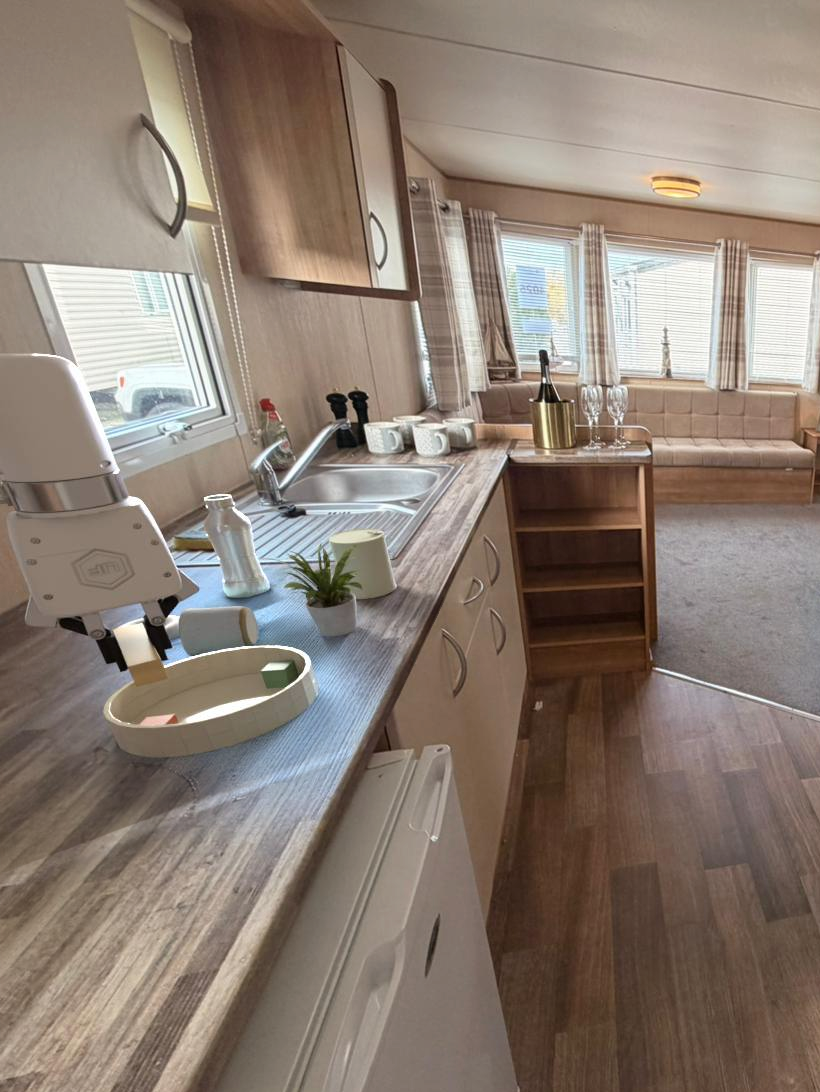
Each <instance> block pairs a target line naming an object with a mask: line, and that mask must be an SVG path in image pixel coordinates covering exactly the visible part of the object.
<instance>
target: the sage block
mask: <svg viewBox="0 0 820 1092" xmlns="http://www.w3.org/2000/svg"><path fill="white" fill-rule="evenodd" d="M261 673H262V676H263V679H264V682H265V685H266V688H267V689H269V688H282V687H287V686H289V685H290V684H291V683H293V682H294V681H295V680H297V678H298V677H299V674H298V671H297V668H296V665H295V662H294V660H282V661H271V662H270V663H269V664H268V665H267V666H266V667H264V668H263V669H262V670H261Z"/></svg>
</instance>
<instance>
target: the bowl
mask: <svg viewBox="0 0 820 1092" xmlns="http://www.w3.org/2000/svg"><path fill="white" fill-rule="evenodd" d="M282 660H294V662H295V665H296V668H297V671H298V674H299V677H298V678H297V680H295V681H294V682H293V683H291V684H290V685H289V686H287V687H282V688H269V689H267V688H266V685H265V682H264V679H263V676H262V673H261V670H262V669H263V668H264V667H266V666H267V665H268V664H269V663H270V662H271V661H282ZM163 666H164V668H165V671H166V673H167V676H168V679H165V680H161V681H157V682H154V683H150V684H146V685H143V686H139V687H136V685H135V683H134V680H133V679H132V680H131V681H130V682H128V683H126V684H124V685H123V686H122V687H120V688H119V689H117V690H116V691H115V692H114V693H113V694H111V696H110V697H109V698H108V699H107V700H106V702H104V705H103V710H102V715H103V716H104V717H105V721H106V722H107V724H108V727H109V729H110V731H111V734H112V735H113V737H114V739H115V741H116V743H117V745H118V747H119V749H121V750H122V751H124V752H126V753H127V754H130V755H134V756H137V757H143V758H153V759H154V758H157V759H158V758H159V759H162V758H178V757H187V756H194V755H199V754H205V753H209V752H214V751H218V750H222V749H225V748H229V747H233V746H235V745H238V744H242V743H245V742H249V741H250V740H253V739H256V738H258V737H260V736H264V735H265V734H268V733H270V732H272V731H274V730H276V729H278V728H280V727H282V726H284V725H286V724H288V723H289V722H291V721H292V720H294V719H295V718H297V717H298V716H300V715H301V714H302V713H304V712H305V711H306V710H307V709H308V708H309V707H310V706H311V705H312V704H313V703H314V701H316V698H317V697H318V695H319V690H320V687H319V684H318V681H317V677H316V674H315V669H314V668H313V664H312V661H311V657H310V655H308V654H306V652H304V651H302V650H300V649H297V648H295V647H289V646H284V645H254V646H248V647H239V648H232V649H225V650H220V651H215V652H211V653H206V654H202V655H198V656H195V657H192V656H190V657H188V658H184V659H180V660H178V661H175V662H172V663H169V664H167V665H163ZM172 714H175V715H176V717H177V720H178V722H179V723H178V724H166V725H139V724H140V723H141V722H142V721H143V720H144V719H145V718H146V717H154V716H163V715H172Z"/></svg>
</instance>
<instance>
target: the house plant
mask: <svg viewBox="0 0 820 1092" xmlns="http://www.w3.org/2000/svg"><path fill="white" fill-rule="evenodd" d="M322 543H323V542H321V543H320V544H319V546H318V551H317V558H318V559H317V560H318V567H319V569H317V570H315V571H314V570H313V569H312V567H311V565H310V564H309V562H308V561H307V560H306V559H305V558H304V556H302V555H301V554H300V553H297V552H295V551H291V550H290V551H289V552H290V553H293V554H295V555H296V556H295V555H293V554H290V553H287V556H288V557H289V558H290V559H291V560H293V561H294V562H295V563H296V565H298V566H299V567H298V566H291V565H290V564H288V563H287V562H285V561H283V560H279V559H276V558H269V560H271V561H275V562H276V561H277V562H279V563H282V564H284V565H286V566H288V567H285V568H281V569H280V571H283V570H286V569H288V568H289V569H292V570H294V571H295V572H296V573H298V574H299V575H297V574H296V573H293V572H286V574H287V575H291V576H293V577H294V578H296V579H298V580H299V581H300V582H302V583H300V582H297V581H296V582H295V581H291V582H288V583H286V584H285V585H284V586H283V589H288V588H289V590H288V592H289V591H294V592H291V593H290V595H292V594H295V593H297V591H295V590H304V591H300V593H301V594H304V595H305V598H306V602H305V607H306V609H307V611H308V613H309V614H310V616H311V618H312V620H313V622H314V624H315V626H316V628H317V630H318V632H319V633H320V636H323V637H327V638H330V637H331V638H332V637H339V636H344V635H345V636H346V635H348V634H350V633H353V632H354V631H356V630H357V628H358V614H357V613H358V612H357V599H356V596H355V595H354V594H353V593H350V588H348V587H347V585H350V586H354V587H357V588H359V589H361V590H362V586H361V584H359V583H357V582H350V583H349V581H350V580H351V579H352V578H354V577H356V576H355V575H358V574H350V573H353V572H356V571H360V570H356V571H351V572H347V573H344V574H341V572H342V570H343V568H344V567H345V565H346V564H347V563H348V562H349V561H350V560H349V561H348V562H347V563H346V564H345V562H346V561H347V559H348V558H349V556H350V553H351V551H352V550H353V549H354V548H355V547H356V546H357V545H358V544H356V545H354V546H352V547H350V548H349V549H348V550H347V551H346V552H345V553H344V554H343V556H342V557H341V559H340V560H339V562H338V563H337V565H336V564H335V567H334V568H333V567H332V566H331V561H330V560H331V559H330V557H331V556H332V555H333V553H334V552H335V551H336V550H335V551H334V552H331V553H330V554H328V551H327V550H326V549H325V548H324V547H322ZM321 549H322V554H321ZM337 549H338V548H337ZM321 555H322V556H321ZM297 556H298V557H299V558H300V559H299V558H298V557H297ZM356 557H358V556H356ZM354 558H355V557H354ZM352 559H353V558H352ZM261 560H268V558H264V557H263V558H261ZM322 560H323V565H324V566H322ZM344 564H345V565H344ZM331 569H332V570H333V569H334V572H333V575H332V573H331V572H332V571H331ZM283 574H285V572H282V573H279V574H278V576H279V575H283ZM340 574H341V575H340ZM301 576H302V577H303V578H305V579H306V580H307V581H308V582H310V584H309V583H308V582H307V581H306V580H305V579H303V578H302V577H301ZM331 576H332V577H331ZM311 584H312V585H313V586H314V587H315V588H313V586H312V585H311ZM290 588H291V589H290ZM305 591H306V592H305Z"/></svg>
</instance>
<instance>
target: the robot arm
mask: <svg viewBox="0 0 820 1092" xmlns="http://www.w3.org/2000/svg"><path fill="white" fill-rule="evenodd" d="M0 480H1V482H0V505H5V504H6V505H7V507H13V509H14V510H13V511H10V512H9V513H8V514H7V516H6V517H5V518H6V527H7V533H8V536H9V537H8V538H9V541H10V543H11V547H12V550H13V553H14V556H15V558H16V561H17V564H18V566H19V570H20V572H21V573H22V577H23V578H24V581H25V584H26V586H27V588H28V590H29V593H30V594H29V598H28V602H27V605H26V611H25V615H24V622H25V623H24V624H25V625H27V626H29V627H33V628H34V627H35V628H50V629H51V628H52V629H56V628H59V629H63V630H67V631H70V632H73V633H77V634H80V635H83V636H87V637H89V639H91V640H94V641H95V642H96V644H97V646H98V648H99V651H100V653H101V655H102V658H103V660H104V662H105V664H106V665H111V664H114V663H116V666H117V668H118V670H119V672H120V673H123V672H127V671H128V670H129V669H128V667H127V664H126V662H125V660H124V657H123V655H122V650H121V648H120V646H119V643H118V641H117V639H116V636H115V634H114V632H113V629H114V628H109V625H108V624H105V623H103V621H102V618H101V615H100V612H104V611H109V610H114V609H119V608H123V607H128V606H129V607H130V606H133V605H137V604H140V605H141V607H142V610H143V612H144V615H143V617H142V618H143V619H144V622H142V623H143V626H144V628H145V631H146V633H147V635H148V637H149V639H150V641H151V643H152V645H154V647H155V649H156V651H157V653H158V655H159V657H160V659H161V661H162V662H165V661H169V658H168V656H167V653H166V651H167V650H170V649H173V647H174V646H172V645H173V644H172V642H171V640H169V637H168V635H167V632H166V630H165V627H164V625H163V624H164V623H165V622H166V618H167V617H168V616H169V615H171V614H172V612H173V611H174V609H175V608H176V607H177V606H178V605H179V603H181V602H184V601H186V600H187V599H189V598H191V597H192V596H194V595H195V594H197V593H199V591H200V586H199V584H197V583H196V582H195V581H194V580H193V579H192V578H190V577H189V576H188V575H187V574H185V572H183V571H182V570H181V569H180V568H178V567H177V565H176V562H175V560H174V557H173V555H172V553H171V551H170V549H169V546H168V543H167V542H166V539H165V538H164V535H163V534H162V531H161V530H160V527H159V526H158V523H157V522H156V520H155V518H154V517H153V515H152V512H150V510H149V509H148V507H147V505H146V504H145V503H144V501H142V499H140V498H138V497H135V496H130V494H129V491H128V489H127V486H126V483H125V481H124V479H123V476H122V474H121V471H120V469H119V466H118V463H117V461H116V458H115V457H114V453H113V450H112V448H111V446H110V443H109V440H108V438H107V435H106V432H105V430H104V427H103V424H102V422H101V420H100V417H99V415H98V412H97V409H96V407H95V405H94V402H93V399H92V396H91V395H90V392H89V389H88V387H87V384H86V382H85V379H84V377H83V375H82V373H81V371H80V370H79V368H78V366H76V365H75V364H74V363H73V362H72V361H70V360H69V359H66V358H65V357H61V356H57V355H51V354H43V353H0Z"/></svg>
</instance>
